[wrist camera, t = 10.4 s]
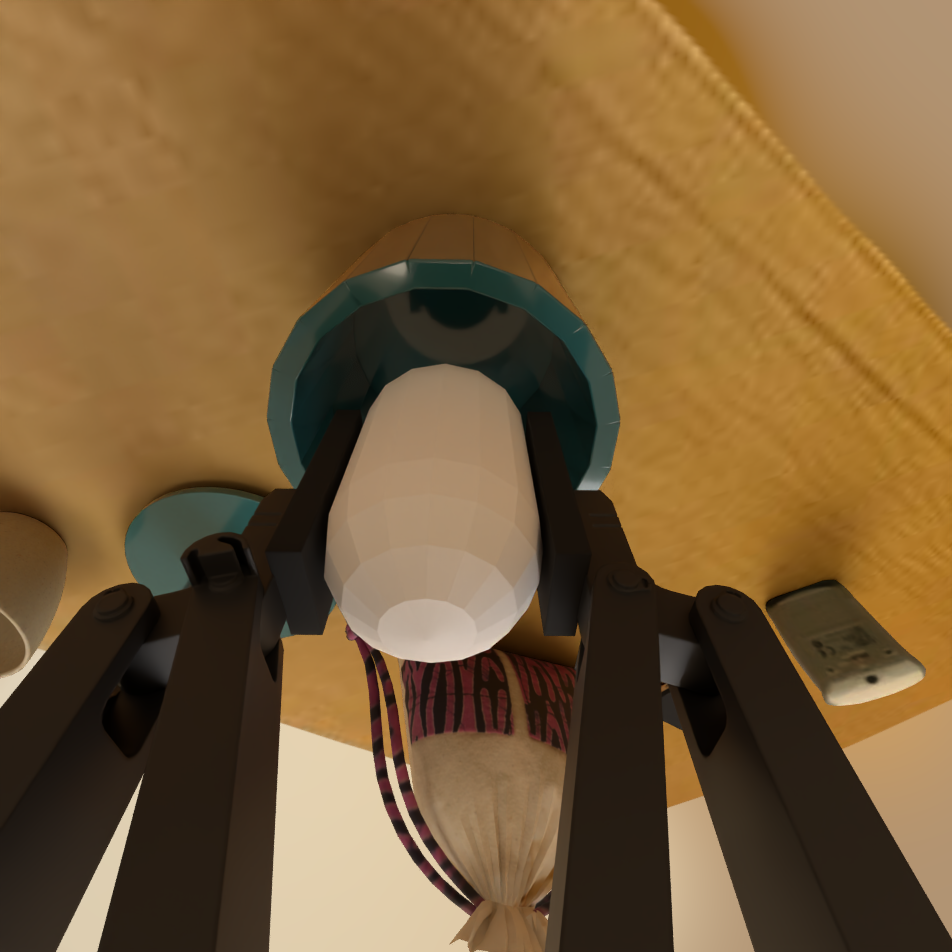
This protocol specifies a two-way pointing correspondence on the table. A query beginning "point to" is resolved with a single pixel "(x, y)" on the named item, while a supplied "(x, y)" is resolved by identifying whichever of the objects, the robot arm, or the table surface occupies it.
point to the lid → (184, 533)
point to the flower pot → (27, 586)
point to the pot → (446, 340)
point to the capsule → (436, 519)
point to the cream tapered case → (842, 645)
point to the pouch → (480, 782)
